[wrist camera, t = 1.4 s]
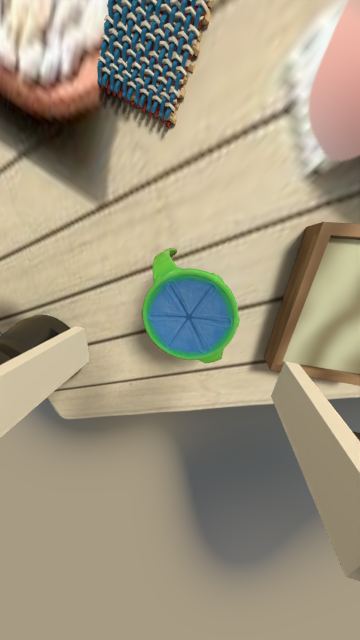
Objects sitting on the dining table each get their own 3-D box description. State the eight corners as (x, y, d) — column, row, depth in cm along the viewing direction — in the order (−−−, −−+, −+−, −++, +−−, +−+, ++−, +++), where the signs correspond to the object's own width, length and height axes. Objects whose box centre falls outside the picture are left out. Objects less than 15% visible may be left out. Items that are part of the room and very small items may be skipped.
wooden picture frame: (263, 357, 29) (270, 370, 26) (306, 226, 21) (323, 221, 18) (353, 372, 27) (373, 387, 24) (436, 234, 19) (480, 230, 16)
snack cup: (241, 330, 28) (256, 368, 19) (183, 345, 31) (171, 384, 22) (212, 234, 23) (212, 221, 14) (148, 263, 27) (114, 267, 17)
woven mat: (220, 0, 16) (221, -33, 15) (174, 134, 21) (171, 122, 19) (127, -53, 16) (115, -93, 14) (100, 93, 20) (89, 77, 19)
